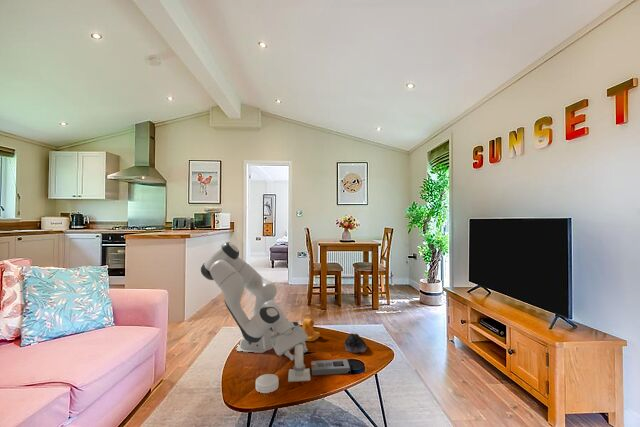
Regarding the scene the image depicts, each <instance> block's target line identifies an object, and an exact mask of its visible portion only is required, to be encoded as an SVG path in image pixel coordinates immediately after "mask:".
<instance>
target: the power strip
mask: <svg viewBox="0 0 640 427" xmlns="http://www.w3.org/2000/svg"><path fill="white" fill-rule="evenodd" d="M310 362H311V363H310V364H311V365H310V366H311V375H312V376H323V375H324V376H325V375H341V374H342V375H343V374H344V375H345V374H349V373H348V372H349V371H350V372H351V366H350V364H349V361H348V359H347V358H343V359H342V358H341V359H327V360H326V359H325V360H324V359H322V360H311V361H310ZM342 364H343V365H344V366H342Z"/></svg>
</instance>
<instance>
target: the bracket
mask: <svg viewBox="0 0 640 427" xmlns="http://www.w3.org/2000/svg"><path fill="white" fill-rule="evenodd" d="M314 326H315V320H314V319H313V318H307V317H305V318H304V319H303V322H302V326H301V327H302V328H303V329H304V331H305V332H306V334H307V336H308V339H307V340H306V341H305V342H314V341H317V339H319V337H320V336H321V334H320V332H319V331H315V329H314Z"/></svg>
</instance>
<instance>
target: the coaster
mask: <svg viewBox="0 0 640 427" xmlns="http://www.w3.org/2000/svg"><path fill="white" fill-rule="evenodd" d="M279 380H280V379H279V377H278V376H277V375H276V374H272V373H265V374H262V375H259V376H258V377H257V378H256V379H255V390H256V391H257V392H258V393H259V392H260V393H259V394H270V392H271V393H272V392H275V391H276V390H277V389H278V388H279V386H280V385H279V383H280V382H279Z"/></svg>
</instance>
